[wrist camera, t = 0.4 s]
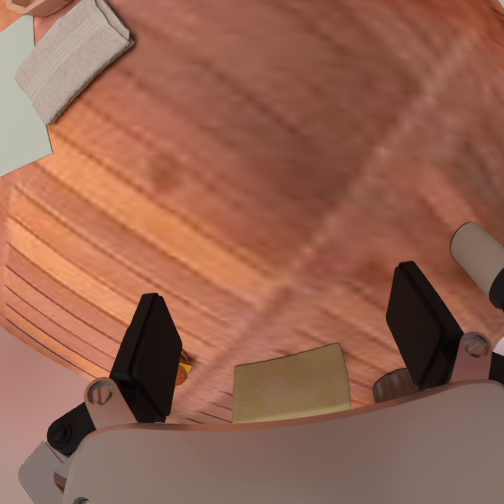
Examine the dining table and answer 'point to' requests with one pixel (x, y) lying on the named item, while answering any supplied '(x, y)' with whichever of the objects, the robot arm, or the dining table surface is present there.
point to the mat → (18, 102)
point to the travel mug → (481, 260)
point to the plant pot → (394, 386)
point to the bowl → (37, 6)
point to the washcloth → (71, 56)
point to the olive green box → (292, 386)
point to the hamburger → (183, 368)
